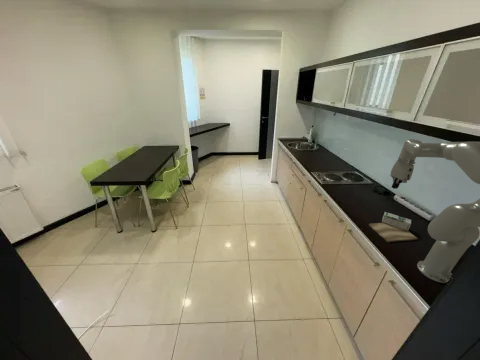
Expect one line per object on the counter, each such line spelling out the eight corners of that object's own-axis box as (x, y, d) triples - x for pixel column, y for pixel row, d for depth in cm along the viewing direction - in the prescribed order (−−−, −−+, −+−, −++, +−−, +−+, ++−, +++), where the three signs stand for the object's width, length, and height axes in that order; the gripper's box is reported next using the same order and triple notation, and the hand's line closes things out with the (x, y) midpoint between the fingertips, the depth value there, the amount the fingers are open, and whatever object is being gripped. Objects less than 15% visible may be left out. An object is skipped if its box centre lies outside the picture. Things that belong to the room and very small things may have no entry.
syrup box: (385, 211, 136) (411, 219, 128) (382, 218, 138) (408, 226, 130) (384, 215, 132) (411, 223, 124) (381, 222, 134) (408, 231, 126)
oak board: (416, 239, 121) (417, 238, 120) (387, 242, 119) (388, 240, 118) (395, 223, 135) (395, 221, 135) (368, 225, 133) (369, 223, 132)
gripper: (423, 165, 110) (410, 193, 118) (400, 156, 123) (390, 182, 131) (411, 165, 109) (399, 194, 117) (389, 156, 122) (380, 182, 130)
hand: (394, 187), depth 124 cm, fingers closed
